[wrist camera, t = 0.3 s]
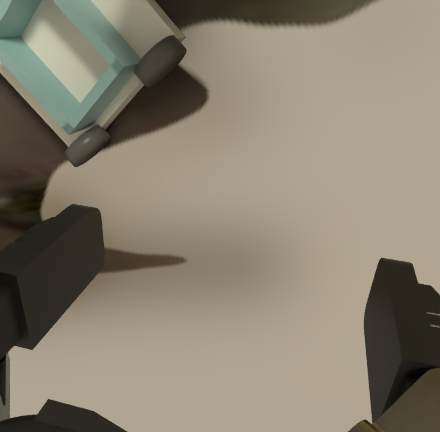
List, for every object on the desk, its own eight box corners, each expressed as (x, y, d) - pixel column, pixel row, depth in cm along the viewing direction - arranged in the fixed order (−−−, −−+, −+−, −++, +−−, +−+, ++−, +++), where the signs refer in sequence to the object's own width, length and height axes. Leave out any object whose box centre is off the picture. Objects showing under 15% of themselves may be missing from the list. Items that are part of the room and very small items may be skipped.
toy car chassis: (73, -96, 30) (29, -113, 26) (193, 46, 31) (169, 50, 27) (-8, 48, 37) (-52, 51, 33) (93, 158, 38) (62, 174, 34)
